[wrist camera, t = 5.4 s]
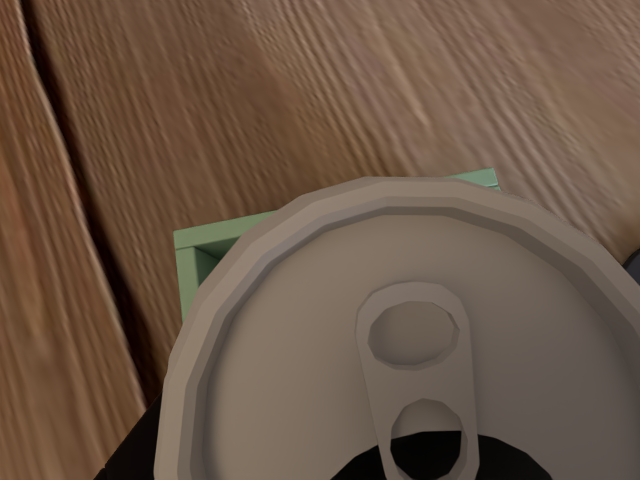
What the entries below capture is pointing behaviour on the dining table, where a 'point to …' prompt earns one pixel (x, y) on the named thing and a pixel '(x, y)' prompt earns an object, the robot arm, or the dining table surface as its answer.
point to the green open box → (218, 238)
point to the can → (407, 345)
